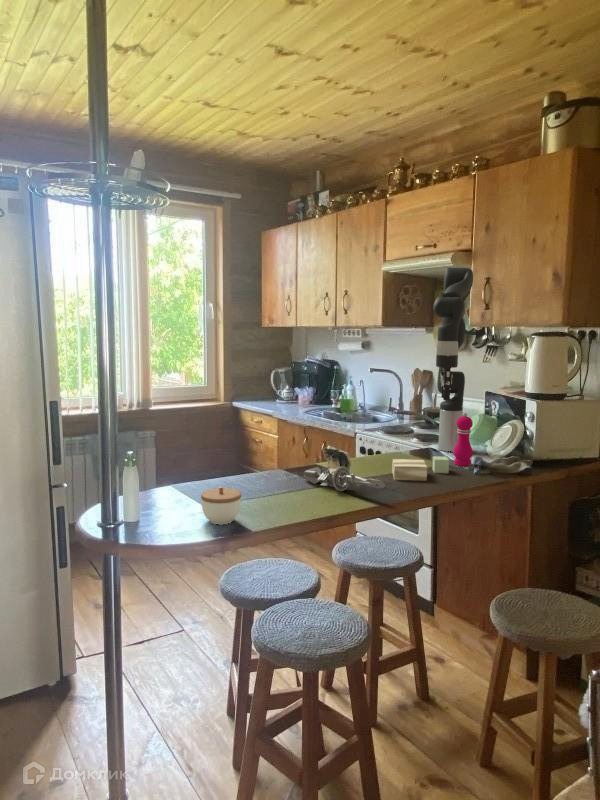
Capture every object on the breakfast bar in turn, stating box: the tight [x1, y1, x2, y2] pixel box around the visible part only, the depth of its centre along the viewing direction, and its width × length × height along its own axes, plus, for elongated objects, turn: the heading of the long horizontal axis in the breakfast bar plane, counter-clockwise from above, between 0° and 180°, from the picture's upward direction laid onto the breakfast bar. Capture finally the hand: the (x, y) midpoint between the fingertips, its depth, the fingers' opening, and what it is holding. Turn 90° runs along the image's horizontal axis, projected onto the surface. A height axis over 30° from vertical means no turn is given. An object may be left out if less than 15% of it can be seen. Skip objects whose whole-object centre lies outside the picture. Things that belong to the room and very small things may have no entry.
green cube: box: [432, 455, 450, 474], centre depth 217 cm, size 5×5×5 cm
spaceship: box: [303, 466, 386, 492], centre depth 191 cm, size 8×35×8 cm
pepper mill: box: [452, 411, 474, 467], centre depth 227 cm, size 7×7×20 cm
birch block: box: [391, 458, 428, 482], centre depth 210 cm, size 11×11×5 cm
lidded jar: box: [200, 486, 242, 526], centre depth 161 cm, size 11×11×9 cm
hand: (445, 399), depth 215 cm, fingers open, 8 cm apart
